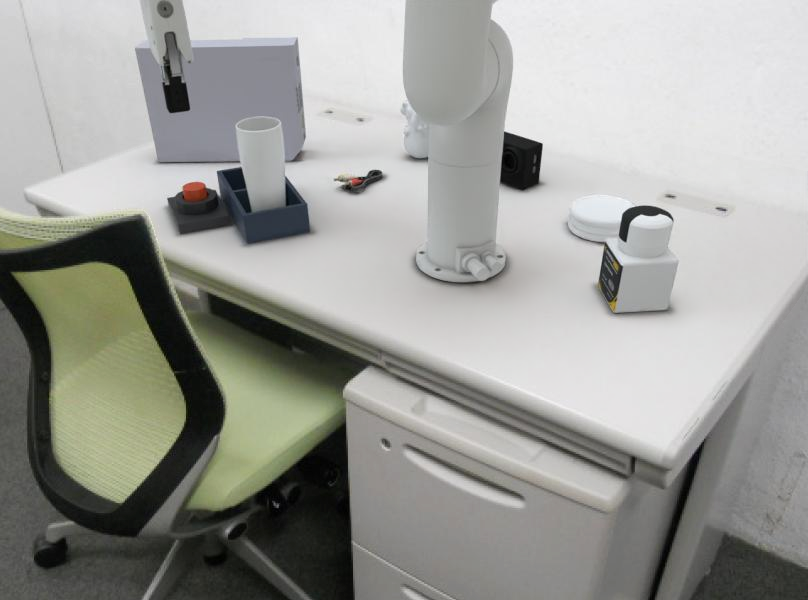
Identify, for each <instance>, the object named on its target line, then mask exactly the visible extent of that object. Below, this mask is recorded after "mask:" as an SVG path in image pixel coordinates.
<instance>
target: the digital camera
mask: <svg viewBox="0 0 808 600" xmlns="http://www.w3.org/2000/svg"><path fill="white" fill-rule="evenodd" d="M543 147H544V143H543V142H540V141H537V140H533V139H530V138H527V137H524V136H521V135H517V134H515V133H511V132H508V131H505V130H504V139H503V152H502V161H501V175H500V183H501V184H504V185H507V186H510V187H513V188H515V189H519V190H521V191H524V190H527V189H528V188H531V187H533V186H536V185H538V184H540V176H541V166H542V157H543V149H544V148H543Z"/></svg>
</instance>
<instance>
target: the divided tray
mask: <svg viewBox="0 0 808 600" xmlns="http://www.w3.org/2000/svg"><path fill="white" fill-rule="evenodd" d="M216 176H217V177H216V178H217V183H218V189H219V194H220V196H219V197H220V199H221V201H222V203H223V205H224V206H225V208H226V210H227V212H228V214H229V215H230V217H231V219H232V220H233V221H234V224H235V226H236V227H237V229H238V230H239V232H240V234H241V236H242V238H243V240H244V242H245V243H246V245H252V244H255V243H261V242H266V241H267V242H268V241H271V240H276V239H282V238H287V237H293V236H298V235H303V234H308V233H311V227H310V226H311V225H310V217H309V205H308V202H307V201H306V200H305V198H304V197H303V196H302V195H301V194H300V192H299V191H298V190H297V189H296V187H295V186H294V184H293V183H292V182H291V181H290V179H289V178H288V177H287V176H286V175H285V190H286V206H285V207H279V208H274V209H268V210H262V211H257V212H251V206H250V201H249V197H248V192H247V188H246V184H245V179H244V175H243V171H242V166H239V167H233V168H226V169H221V170H220V169H219V170H216Z"/></svg>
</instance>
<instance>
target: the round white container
mask: <svg viewBox="0 0 808 600" xmlns="http://www.w3.org/2000/svg"><path fill="white" fill-rule="evenodd" d="M635 206H636V205H635V203H633V202H632V201H630V200H628V199H625V198H623V197H619V196H615V195H610V194H589V195H584V196H581V197H579V198H577V199H575V200H574V201H573V202H572V203H571V204H570V206H569V214H568V221H567V226H568V229H569V231H570V232H572V233H573V234H574V235H575V236H577V237H579V238H581V239H584V240H587V241H592V242H597V243H605V240H606V239H607V238H618V235H619V230H620V224H621V218H622V214H623V213H624V212H625V211H626V210H627V209H629V208H631V207H635Z"/></svg>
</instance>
